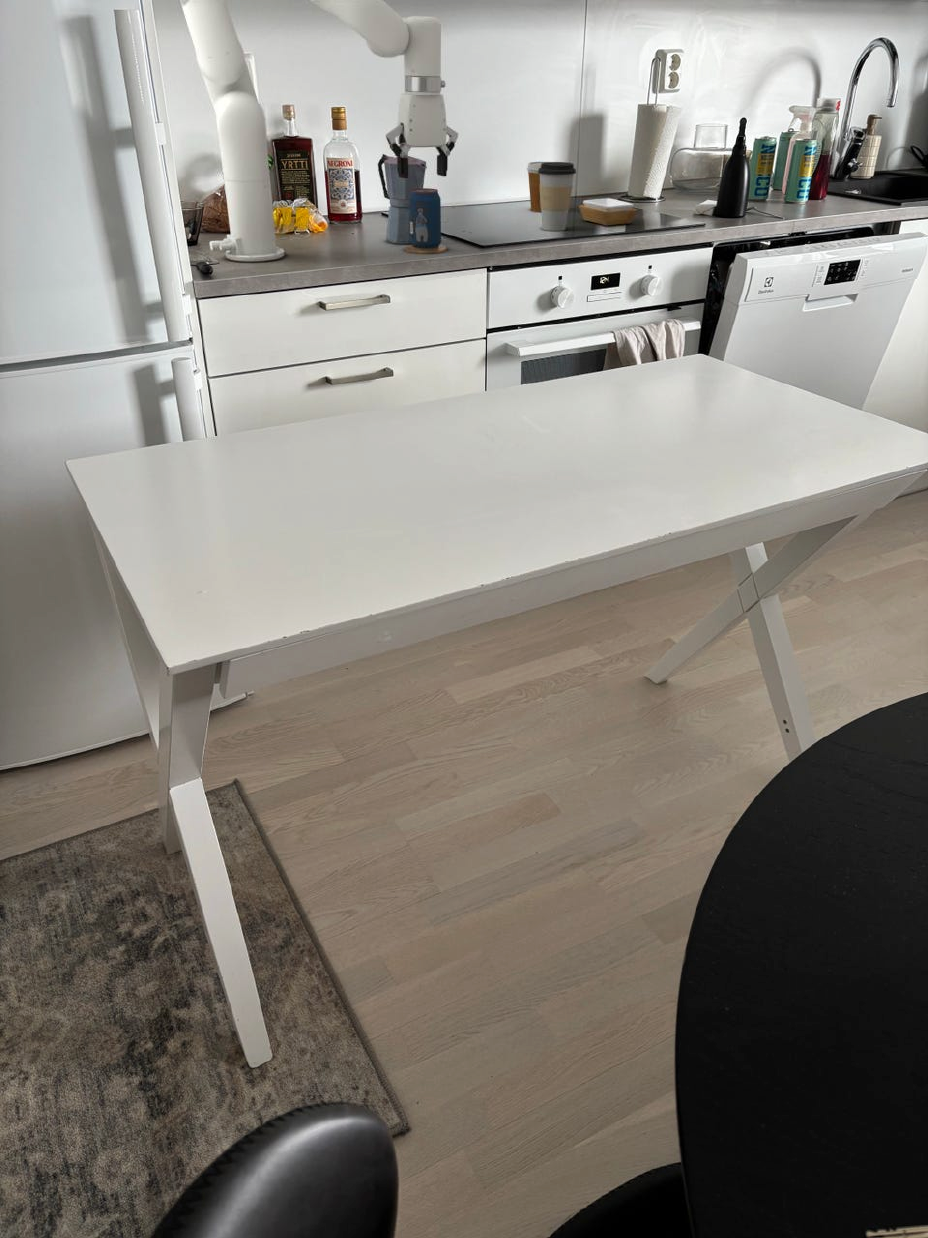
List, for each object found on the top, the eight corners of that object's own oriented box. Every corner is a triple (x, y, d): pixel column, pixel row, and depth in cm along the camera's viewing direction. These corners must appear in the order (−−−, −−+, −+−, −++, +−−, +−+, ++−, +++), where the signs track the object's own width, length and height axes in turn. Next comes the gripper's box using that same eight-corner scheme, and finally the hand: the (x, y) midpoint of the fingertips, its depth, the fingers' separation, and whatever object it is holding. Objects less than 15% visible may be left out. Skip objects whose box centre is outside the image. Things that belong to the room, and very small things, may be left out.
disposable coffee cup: (526, 207, 267) (528, 160, 260) (559, 208, 266) (562, 161, 259) (523, 212, 259) (525, 164, 252) (558, 213, 258) (560, 165, 251)
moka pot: (415, 247, 213) (412, 150, 203) (365, 240, 221) (360, 146, 211) (441, 241, 220) (440, 147, 209) (391, 234, 228) (388, 143, 217)
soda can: (436, 243, 214) (435, 187, 208) (445, 249, 209) (444, 191, 203) (407, 245, 213) (405, 188, 206) (415, 251, 207) (413, 192, 201)
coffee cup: (527, 228, 235) (530, 163, 227) (551, 224, 241) (554, 160, 233) (557, 233, 230) (560, 166, 222) (580, 228, 236) (584, 163, 228)
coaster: (418, 255, 206) (418, 252, 205) (398, 248, 212) (398, 246, 212) (453, 251, 210) (453, 248, 210) (433, 244, 216) (433, 242, 216)
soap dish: (577, 220, 247) (578, 199, 244) (607, 217, 251) (608, 197, 248) (606, 227, 238) (607, 205, 235) (636, 224, 242) (638, 203, 239)
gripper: (448, 85, 201) (447, 173, 210) (377, 85, 193) (379, 176, 202) (467, 87, 195) (465, 176, 204) (394, 86, 187) (396, 180, 196)
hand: (422, 176), depth 203 cm, fingers open, 9 cm apart
